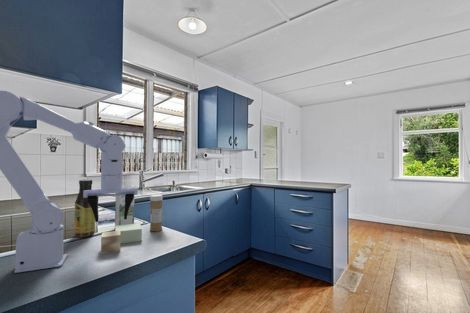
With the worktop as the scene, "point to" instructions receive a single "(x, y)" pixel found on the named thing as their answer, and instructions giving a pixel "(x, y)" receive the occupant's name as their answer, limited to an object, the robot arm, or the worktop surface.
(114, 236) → the birch cube
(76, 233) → the sauce bottle
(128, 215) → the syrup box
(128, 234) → the sage block
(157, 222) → the sprinkles bottle
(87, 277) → the worktop surface
